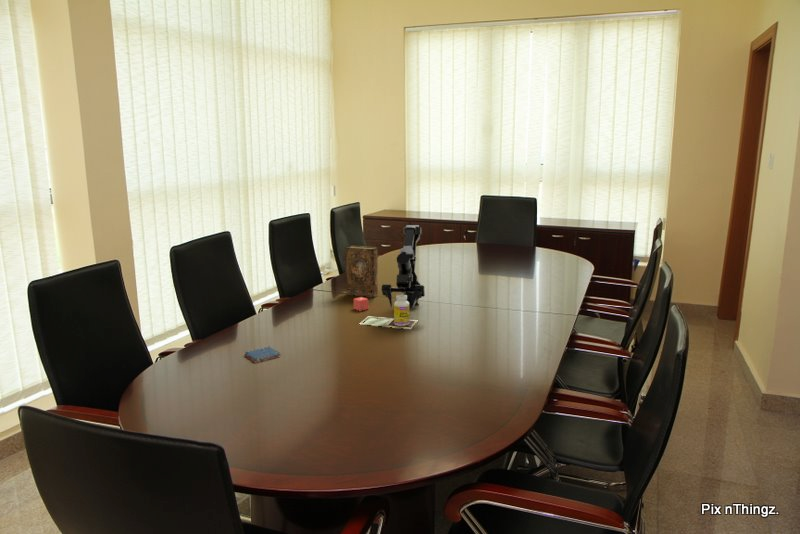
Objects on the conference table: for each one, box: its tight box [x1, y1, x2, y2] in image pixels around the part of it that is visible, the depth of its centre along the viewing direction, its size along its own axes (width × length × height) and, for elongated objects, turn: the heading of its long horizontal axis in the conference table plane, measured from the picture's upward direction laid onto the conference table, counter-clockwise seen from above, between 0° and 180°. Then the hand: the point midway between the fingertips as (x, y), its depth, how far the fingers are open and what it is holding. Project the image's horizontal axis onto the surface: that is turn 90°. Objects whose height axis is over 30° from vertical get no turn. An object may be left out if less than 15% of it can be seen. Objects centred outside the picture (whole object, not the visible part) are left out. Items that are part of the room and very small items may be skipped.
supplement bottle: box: [393, 293, 410, 327], centre depth 263 cm, size 7×7×13 cm
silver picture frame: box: [358, 315, 419, 330], centre depth 266 cm, size 23×12×1 cm, turn 73°
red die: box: [353, 296, 370, 312], centre depth 287 cm, size 5×5×6 cm
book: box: [344, 245, 379, 298], centre depth 311 cm, size 16×6×25 cm, turn 68°
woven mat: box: [244, 346, 281, 364], centre depth 227 cm, size 10×11×2 cm
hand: (401, 307), depth 263 cm, fingers open, 9 cm apart
